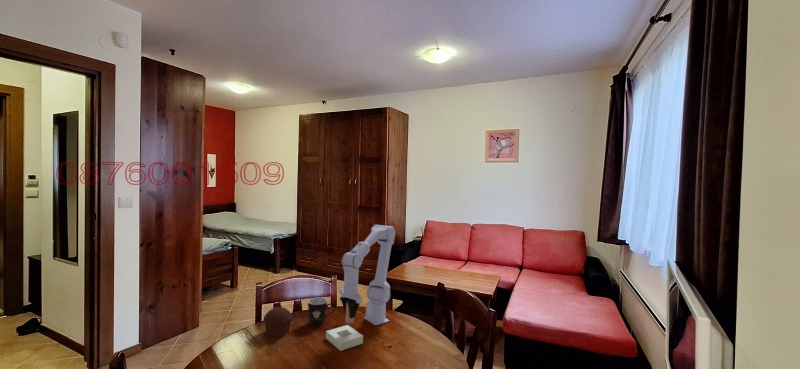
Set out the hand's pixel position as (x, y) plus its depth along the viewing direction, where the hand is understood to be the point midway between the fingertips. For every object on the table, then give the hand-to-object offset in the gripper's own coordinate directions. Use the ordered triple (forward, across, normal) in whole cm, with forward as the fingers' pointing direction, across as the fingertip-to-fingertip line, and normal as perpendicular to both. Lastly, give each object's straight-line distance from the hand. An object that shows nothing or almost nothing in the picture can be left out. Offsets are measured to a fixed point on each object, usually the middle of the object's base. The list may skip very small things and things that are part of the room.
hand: (349, 315), depth 132 cm
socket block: (+10, 0, -2) cm, 10 cm away
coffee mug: (+10, -20, -3) cm, 23 cm away
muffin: (+10, -22, -21) cm, 32 cm away
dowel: (+2, 0, 0) cm, 2 cm away
